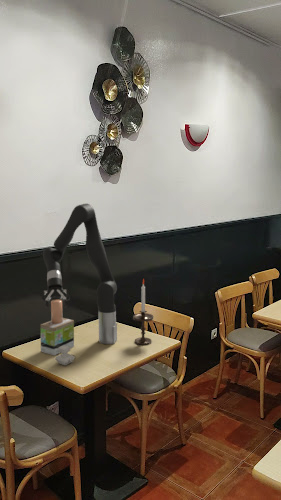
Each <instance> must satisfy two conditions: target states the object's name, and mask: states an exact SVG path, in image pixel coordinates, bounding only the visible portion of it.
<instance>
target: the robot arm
mask: <svg viewBox="0 0 281 500" xmlns="http://www.w3.org/2000/svg"><path fill="white" fill-rule="evenodd" d="M82 224H83V225H84V228H85V233H86V235H85V238H86V239H85V249H86V252H87V257H88V260H89V261H90V263H91V265H92V266H93V268H94V269H95V271H96V272H97V273H96V274H97V276H98V279H99V284H98V286H97V288H96V305H97V308H98V309H97V310H98V342H99V343H100V344H103V345H110V344H111V345H112V344H115V343H116V342H117V341H118V323H117V316H116V315H117V309H116V308H117V305H116V304H115V294H116V293H117V290H118V286H117V282H116V280H115V278H114V276H113V273H112V271H111V268H110V265H109V261H108V257H107V253H106V249H105V246H104V243H103V240H102V238H101V234H100V230H99V225H98V220H97V216H96V211H95V209H94V207H93V206H92V205H91V204H89V203H83V204H77V205H76V206H74V208H73V210H72V211H71V214H70V216H69V218H68V220H67V222H66V224H65V226H64V228H63V229H62V230H61V232H60V233H59V235H58V236H57V237H56V239H54V242H53V246H54V248H53V247H50V246H49V247H48V246H47V247H46V248H44V250H43V252H42V258H43V262H44V264H45V267H46V271H47V274H46V277H47V278H46V282H47V290H44V289H42V290H41V302H42V303H44V304H45V308H46V309H47V310H49V308H50V307H49V302H50V300H52V299H60V300H62V302H63V308H64V309H66V308H67V305H68V303H67V301H70V299H71V295H70V290H69V288H67V287H66V289H63V280H62V279H63V278H62V273H61V272H62V271H61V270H62V269H61V265H60V262H61V261H62V260H63V257H64V253H65V252H66V249H67V247H68V246H69V245H70V243H72V240H73V238H74V235H75V232H76V230H77V229H78V228H79V227H80V226H81V225H82ZM64 293H65V294H66V296H65V295H64ZM46 294H47V297H46V298H45V296H46Z"/></svg>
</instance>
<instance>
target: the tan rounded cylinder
mask: <svg viewBox="0 0 281 500" xmlns="http://www.w3.org/2000/svg"><path fill="white" fill-rule="evenodd" d="M50 312H51V313H50V314H51V318H50V319H51V320H52V323H54V324H58V323H62V322H63V318H64V317H63V300H62V299H59V298H56V299H51V301H50ZM51 320H50V321H51Z"/></svg>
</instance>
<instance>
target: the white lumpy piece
mask: <svg viewBox="0 0 281 500" xmlns="http://www.w3.org/2000/svg"><path fill="white" fill-rule="evenodd" d="M71 349H72V348H70V347H69V346H65V345H64V346H61V347H59V348H58V350H59V351H60V352H61V354H59V355H57V356H56V355H55V359H54V360H55V361H56V362H57V363H58V364H60V365H62V366H68V365H69V364H71V363H73V362H74V360H75V355H72V354H69V353H70V351H71ZM68 352H69V353H68Z"/></svg>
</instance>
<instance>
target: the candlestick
mask: <svg viewBox="0 0 281 500" xmlns="http://www.w3.org/2000/svg"><path fill="white" fill-rule="evenodd" d="M140 292H141V295H140V297H141V300H140V301H141V307H140V309H141V310H139V312H138V313H135V314H133V316H132V319H133V320H134V321H137V322H141V327H140V331H141V332H140V334H141V337H138V338H135V339H134V343H135V344H136V345H139V346H148V345H151V344H152V342H153V341H152V339H151V338H149V337H145V334H146V327H145V322H149V321H150V322H151V321H153V320H154V315H153V314H151V313H149V312H148V313H147V310H146V286H145V278H143V279H142V286H141V291H140Z"/></svg>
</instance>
